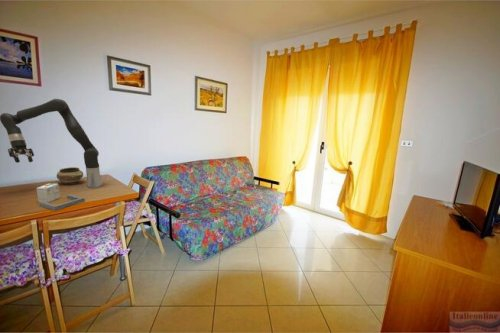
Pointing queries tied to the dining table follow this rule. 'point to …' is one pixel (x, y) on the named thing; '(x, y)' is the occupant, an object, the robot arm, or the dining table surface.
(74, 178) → the ceramic bowl
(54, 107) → the robot arm
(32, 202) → the dining table surface
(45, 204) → the charcoal bay
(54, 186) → the light bulb box
